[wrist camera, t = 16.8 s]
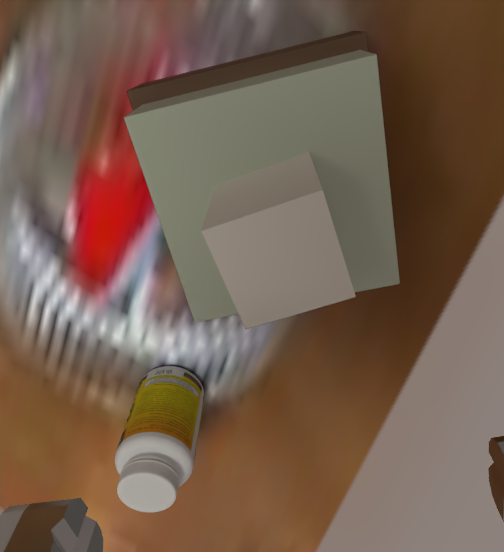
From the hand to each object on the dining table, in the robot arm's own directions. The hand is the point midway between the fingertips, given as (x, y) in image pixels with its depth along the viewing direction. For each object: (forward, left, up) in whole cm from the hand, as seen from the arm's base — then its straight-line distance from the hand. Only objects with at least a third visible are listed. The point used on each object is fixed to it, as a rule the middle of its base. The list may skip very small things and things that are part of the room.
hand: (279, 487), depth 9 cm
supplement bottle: (+17, -12, -25) cm, 32 cm away
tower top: (0, 0, -21) cm, 21 cm away
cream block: (+1, 0, -17) cm, 17 cm away
